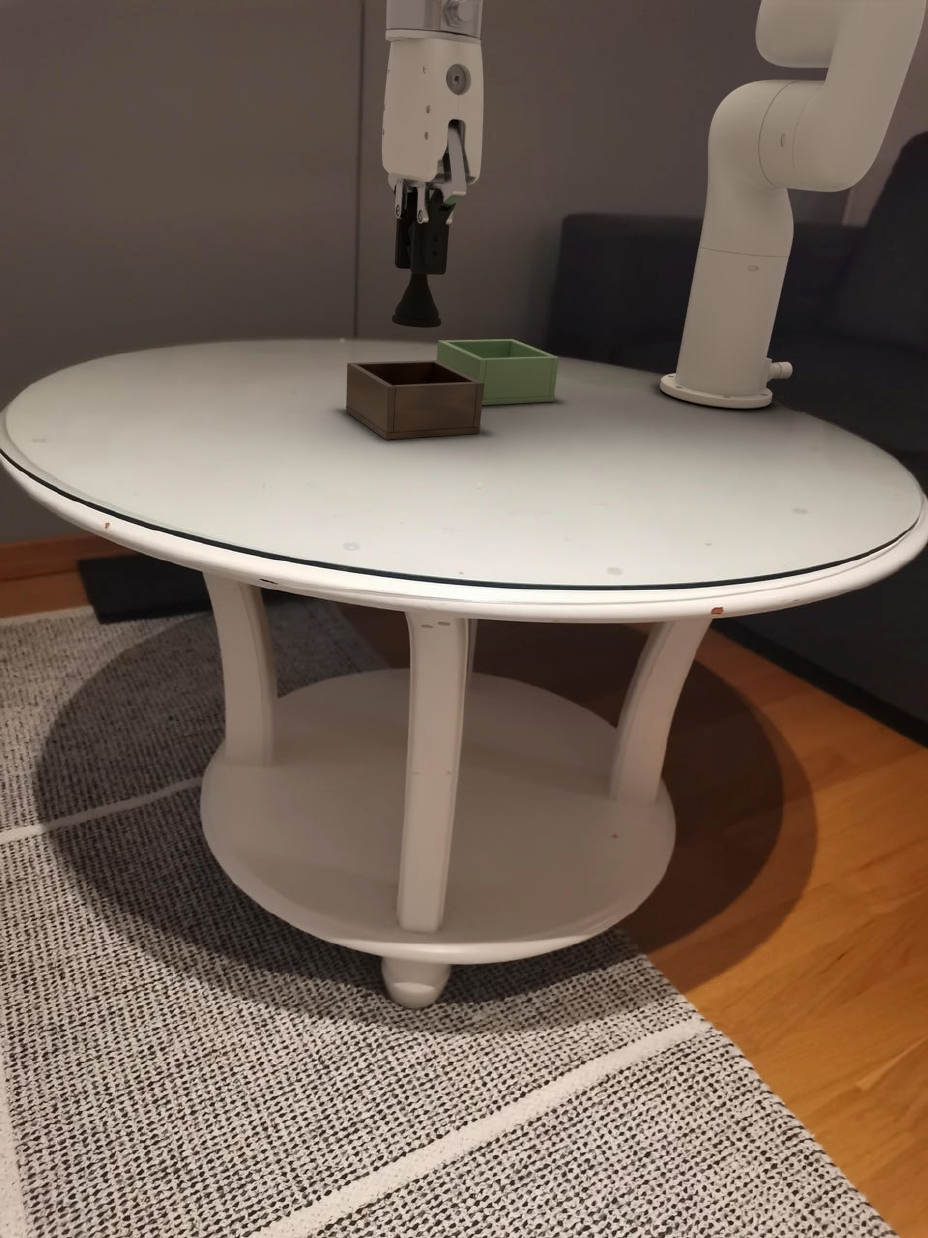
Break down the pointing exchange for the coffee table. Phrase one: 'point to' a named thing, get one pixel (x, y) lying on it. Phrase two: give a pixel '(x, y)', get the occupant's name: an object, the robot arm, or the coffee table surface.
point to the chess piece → (417, 301)
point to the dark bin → (413, 399)
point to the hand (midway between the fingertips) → (420, 269)
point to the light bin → (503, 369)
